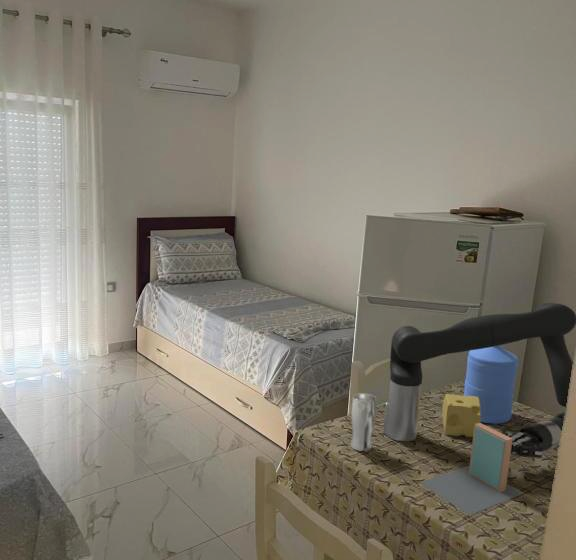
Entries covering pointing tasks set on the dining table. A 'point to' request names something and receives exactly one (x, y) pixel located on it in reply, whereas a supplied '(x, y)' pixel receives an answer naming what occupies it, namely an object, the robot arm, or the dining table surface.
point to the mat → (468, 491)
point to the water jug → (492, 382)
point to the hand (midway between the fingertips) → (499, 450)
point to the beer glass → (362, 420)
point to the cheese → (460, 414)
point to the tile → (490, 456)
